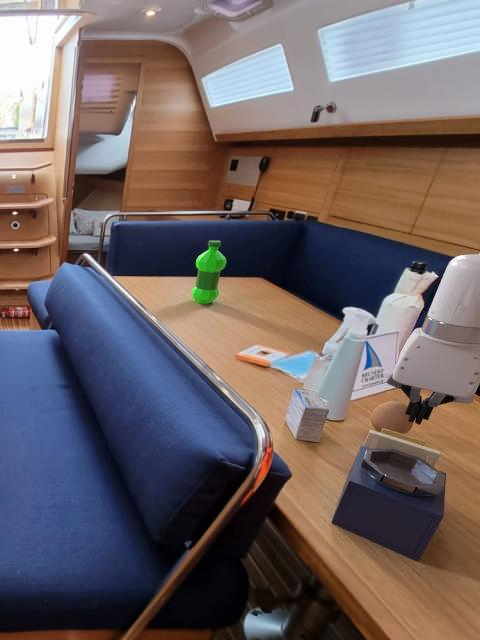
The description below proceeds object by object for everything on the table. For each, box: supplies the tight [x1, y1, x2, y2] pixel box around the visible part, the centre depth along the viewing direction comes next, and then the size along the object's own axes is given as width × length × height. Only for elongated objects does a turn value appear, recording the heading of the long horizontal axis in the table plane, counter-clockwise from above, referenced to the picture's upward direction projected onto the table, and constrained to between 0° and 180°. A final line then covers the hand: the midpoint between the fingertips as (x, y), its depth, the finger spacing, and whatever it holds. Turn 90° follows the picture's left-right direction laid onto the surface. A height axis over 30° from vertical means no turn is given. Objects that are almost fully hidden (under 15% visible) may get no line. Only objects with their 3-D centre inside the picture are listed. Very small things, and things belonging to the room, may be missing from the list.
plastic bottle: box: [191, 239, 228, 305], centre depth 167 cm, size 10×10×25 cm
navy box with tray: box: [330, 444, 447, 562], centre depth 70 cm, size 13×11×10 cm
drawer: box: [363, 428, 442, 468], centre depth 77 cm, size 17×9×8 cm, turn 133°
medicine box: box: [284, 389, 330, 443], centre depth 93 cm, size 8×4×9 cm, turn 160°
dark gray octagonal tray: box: [361, 448, 445, 498], centre depth 68 cm, size 9×9×2 cm
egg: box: [370, 400, 415, 435], centre depth 90 cm, size 6×6×8 cm
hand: (414, 419), depth 77 cm, fingers closed
